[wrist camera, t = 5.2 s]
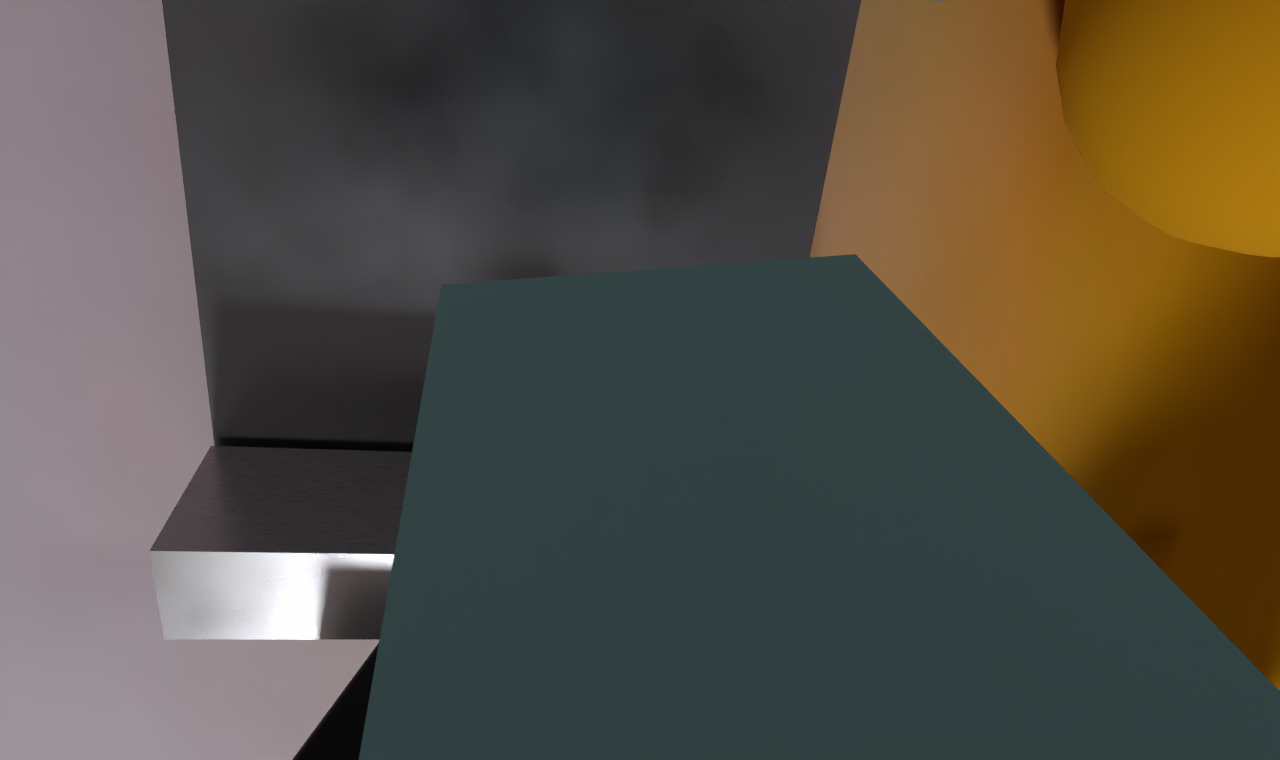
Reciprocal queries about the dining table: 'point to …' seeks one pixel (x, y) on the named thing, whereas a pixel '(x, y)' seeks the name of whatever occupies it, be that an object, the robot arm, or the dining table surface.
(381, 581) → the vise jaw
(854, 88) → the dining table surface
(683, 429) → the teal block
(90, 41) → the dining table surface
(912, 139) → the dining table surface
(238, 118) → the vise
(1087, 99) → the orange fruit
